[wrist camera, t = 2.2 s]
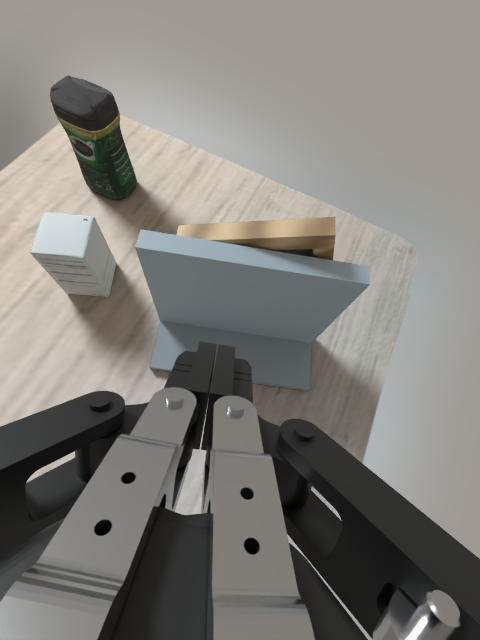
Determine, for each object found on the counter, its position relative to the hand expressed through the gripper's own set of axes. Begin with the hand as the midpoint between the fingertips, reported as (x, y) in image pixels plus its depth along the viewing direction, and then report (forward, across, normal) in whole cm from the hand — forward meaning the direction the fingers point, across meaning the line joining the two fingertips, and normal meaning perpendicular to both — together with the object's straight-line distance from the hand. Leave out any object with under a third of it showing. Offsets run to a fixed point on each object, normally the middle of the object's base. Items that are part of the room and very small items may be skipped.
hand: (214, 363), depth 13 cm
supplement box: (+42, +24, +11) cm, 50 cm away
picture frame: (+35, -6, +7) cm, 36 cm away
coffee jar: (+58, +27, -5) cm, 64 cm away
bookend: (+36, -2, +18) cm, 40 cm away
